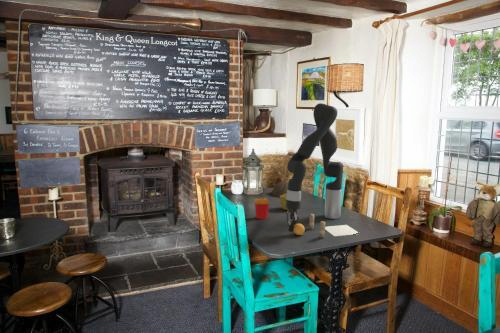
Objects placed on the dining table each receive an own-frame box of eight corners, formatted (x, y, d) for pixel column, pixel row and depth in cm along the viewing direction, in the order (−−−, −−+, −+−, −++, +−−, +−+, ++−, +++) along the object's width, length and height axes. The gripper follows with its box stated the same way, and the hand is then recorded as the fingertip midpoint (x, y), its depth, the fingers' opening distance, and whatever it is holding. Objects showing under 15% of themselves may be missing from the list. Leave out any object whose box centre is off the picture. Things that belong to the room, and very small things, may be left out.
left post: (308, 228, 215) (308, 214, 214) (312, 227, 216) (313, 213, 214) (310, 229, 213) (310, 215, 211) (314, 229, 213) (315, 215, 212)
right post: (318, 236, 202) (319, 221, 201) (323, 236, 203) (323, 221, 202) (320, 238, 200) (321, 223, 198) (325, 237, 200) (326, 222, 199)
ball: (289, 225, 206) (299, 219, 207) (294, 234, 208) (303, 228, 208) (293, 229, 200) (303, 223, 201) (298, 239, 202) (308, 232, 203)
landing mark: (321, 227, 217) (321, 226, 217) (346, 225, 220) (346, 224, 220) (334, 236, 202) (334, 236, 202) (360, 234, 206) (360, 233, 206)
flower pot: (291, 212, 245) (291, 198, 243) (279, 209, 250) (279, 196, 249) (298, 209, 252) (298, 195, 250) (286, 206, 257) (286, 193, 255)
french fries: (268, 216, 235) (268, 197, 233) (268, 218, 231) (269, 199, 229) (254, 217, 235) (254, 197, 233) (254, 219, 231) (254, 199, 229)
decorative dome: (285, 199, 276) (285, 185, 274) (266, 194, 291) (266, 181, 289) (303, 195, 288) (304, 181, 286) (284, 190, 303) (284, 177, 301)
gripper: (305, 202, 196) (301, 235, 199) (296, 196, 209) (293, 227, 212) (290, 201, 195) (287, 235, 197) (282, 195, 207) (280, 227, 210)
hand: (290, 231), depth 204 cm, fingers closed
